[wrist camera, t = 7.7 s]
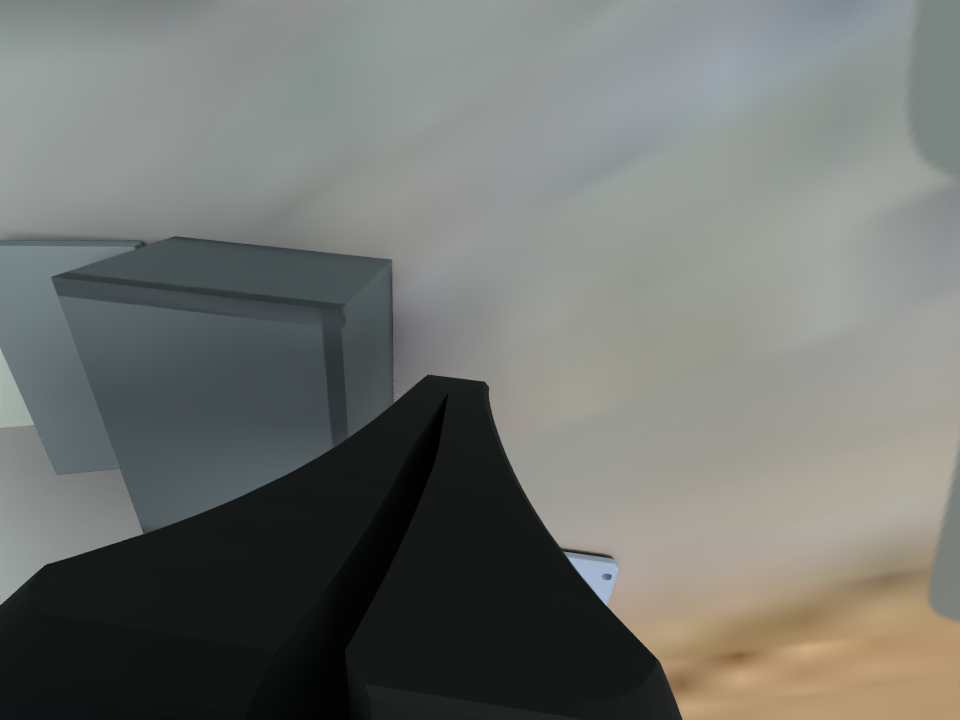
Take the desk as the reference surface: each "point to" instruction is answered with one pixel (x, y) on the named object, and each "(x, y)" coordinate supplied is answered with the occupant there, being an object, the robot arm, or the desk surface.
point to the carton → (228, 363)
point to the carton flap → (49, 353)
